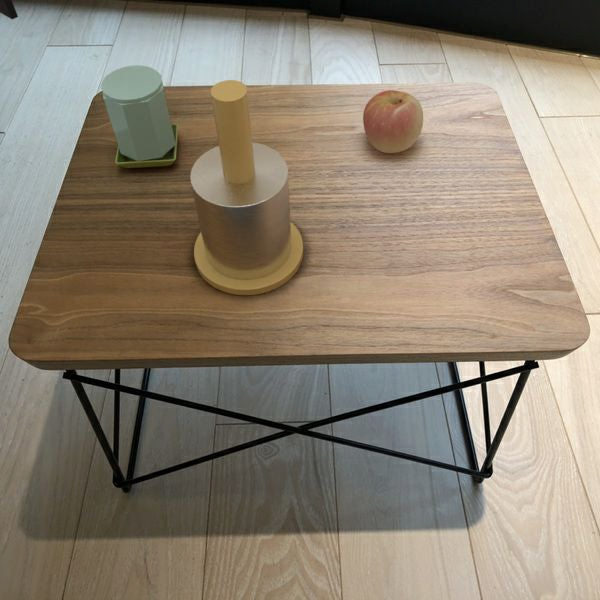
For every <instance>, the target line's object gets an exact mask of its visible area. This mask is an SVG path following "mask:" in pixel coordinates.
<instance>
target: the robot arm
mask: <svg viewBox="0 0 600 600" xmlns="http://www.w3.org/2000/svg"><path fill="white" fill-rule="evenodd" d="M0 14H2V15H4V16H5V17H7V18H9V19H10V20H14V19H16V18H19V15H18V13H17V9H16V8H15V5H14V2H13V0H0Z"/></svg>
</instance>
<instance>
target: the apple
mask: <svg viewBox="0 0 600 600" xmlns="http://www.w3.org/2000/svg"><path fill="white" fill-rule="evenodd" d="M362 123H363V124H362V125H363V130H364V133H365V136H366V138H367V140H368V142H369V143H370V144H371V146H373V148H375V150H377V151H379V152H381V153H385V154H396V153H400V152H401V153H402V152H404V151H407V150H408V149H410V148H411V147H412V146H413V145H414V144H415V143H416V142H417V141H418V139H419V137H420V135H421V133H422V130H423V126H424V110H423V107H422V105H421V102H420V101H419V100H418V98H416V97H415V96H414V95H412V94H410V93H407V92H405V91H399V90H393V89H389V90H384V91H381V92H379V93H377V94H375V95H373V96H372V97H371V98H370V99H369V100H368V101H367V103H366V104H365V107H364V109H363V113H362Z"/></svg>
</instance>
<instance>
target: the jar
mask: <svg viewBox="0 0 600 600" xmlns="http://www.w3.org/2000/svg"><path fill="white" fill-rule="evenodd" d="M101 91H102V98H103V101H104V105H105V108H106V111H107V115H108V118H109V120H110V121H109V122H110V124H111V127H112V130H113V133H114V137H115V140H116V143H117V147H118V146H119V149H120V153H121V154H122V155H125V156H127V157H129V158H132V159H134V160H136V161H143V160H149V159H155V158H161V157H163V156H164V155H165V154H166V153H167V152H168V151H169V150H170V149H172V148H173V147H174V146H175V145H176V142H175V137H174V132H173V127H172V124H173V123H172V118H171V114H170V110H169V105H168V101H167V96H166V91H165V87H164V83H163V79H162V74H161V73H160V72H159V71H158V70H156V69H155V68H154V67H153V68H152V67H150V66H146V65H138V64H137V65H128V66H123V67H120V68H117V69H115V70H113V71H112V72H109V73H108V74H107V75H106V76H105V77H104V78H103V80H102V82H101Z"/></svg>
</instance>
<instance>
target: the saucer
mask: <svg viewBox="0 0 600 600" xmlns="http://www.w3.org/2000/svg"><path fill="white" fill-rule="evenodd" d="M172 127H173V132H174V137H175V142H176V145H175V146H174V147H173V148H172V149H170V150H169V151H168V152H167V153H166V154H165V155H164V156H163V157H161V158H155V159H149V160H143V161H136V160H134V159H132V158H129V157H127V156H125V155H122V154H121V153H120V149H119V146H118V145H117V148H116V155H115V160H114V163H115V164H116V165H118V166H120V167H122V168H127V169H136V168H138V169H139V168H152V167H153V168H154V167H169V166H171V165H173V164H174V163H175V162H176V159H177V150H178V149H177V148H178V136H179V124H178V123H172Z"/></svg>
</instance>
